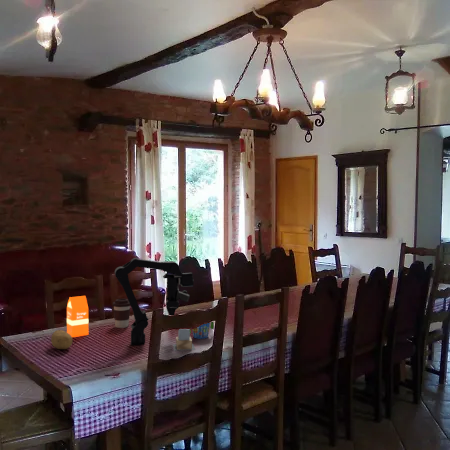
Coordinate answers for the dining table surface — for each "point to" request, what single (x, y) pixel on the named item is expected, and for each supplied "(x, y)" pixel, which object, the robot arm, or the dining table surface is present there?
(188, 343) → the oak block
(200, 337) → the snack cup
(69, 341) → the potato
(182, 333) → the blue cube
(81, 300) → the orange juice
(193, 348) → the build mat
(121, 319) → the coffee cup
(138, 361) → the dining table surface
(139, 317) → the robot arm
